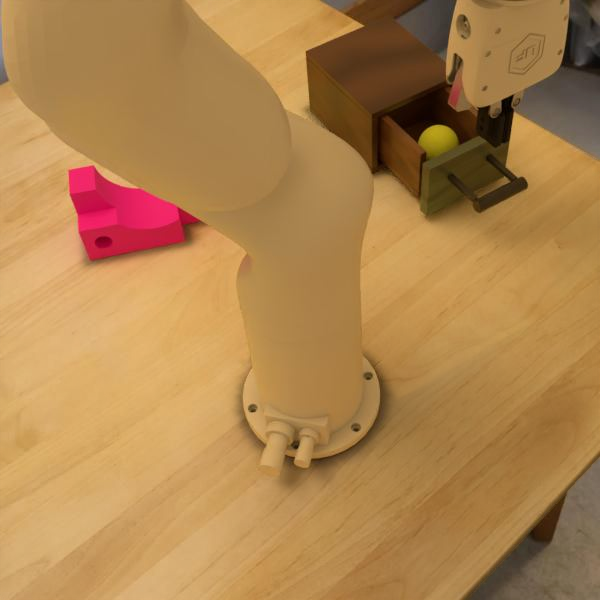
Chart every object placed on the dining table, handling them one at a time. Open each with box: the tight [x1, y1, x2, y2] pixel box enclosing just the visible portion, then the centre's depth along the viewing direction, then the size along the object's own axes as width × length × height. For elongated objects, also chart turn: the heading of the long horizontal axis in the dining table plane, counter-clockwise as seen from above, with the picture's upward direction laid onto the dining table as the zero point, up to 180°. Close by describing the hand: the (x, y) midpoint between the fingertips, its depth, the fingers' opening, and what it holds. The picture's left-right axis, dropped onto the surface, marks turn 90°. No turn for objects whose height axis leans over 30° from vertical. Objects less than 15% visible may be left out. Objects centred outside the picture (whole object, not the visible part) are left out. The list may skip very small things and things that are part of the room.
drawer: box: [377, 85, 529, 217], centre depth 91 cm, size 18×10×7 cm, turn 31°
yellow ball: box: [418, 125, 459, 161], centre depth 93 cm, size 4×4×4 cm
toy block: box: [67, 164, 202, 261], centre depth 91 cm, size 15×6×8 cm, turn 102°
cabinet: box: [305, 15, 453, 175], centre depth 98 cm, size 14×12×9 cm
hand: (492, 136), depth 83 cm, fingers closed
